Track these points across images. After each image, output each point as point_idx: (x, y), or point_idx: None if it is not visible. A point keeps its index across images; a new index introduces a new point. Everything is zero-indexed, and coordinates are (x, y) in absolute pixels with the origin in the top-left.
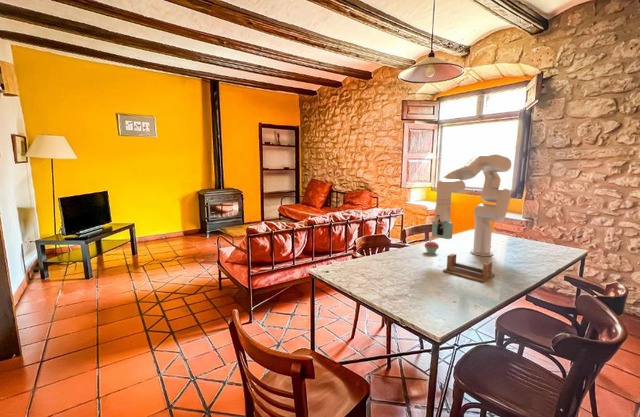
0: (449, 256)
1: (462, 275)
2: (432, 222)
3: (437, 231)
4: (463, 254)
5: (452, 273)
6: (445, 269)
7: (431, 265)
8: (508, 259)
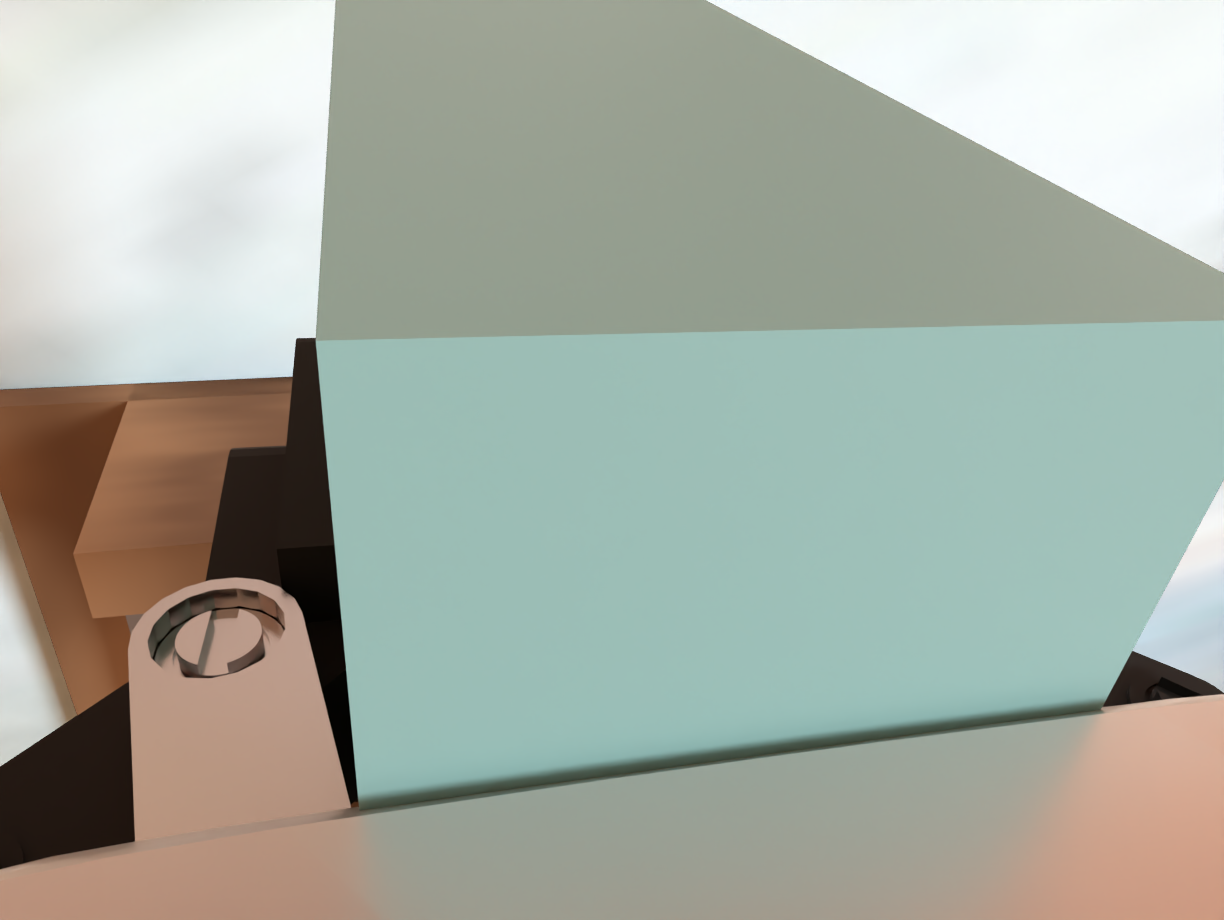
0: (85, 586)
1: (61, 666)
2: (330, 241)
3: (297, 424)
4: (1190, 166)
5: (24, 541)
6: (41, 419)
7: (93, 51)
8: (1168, 614)
